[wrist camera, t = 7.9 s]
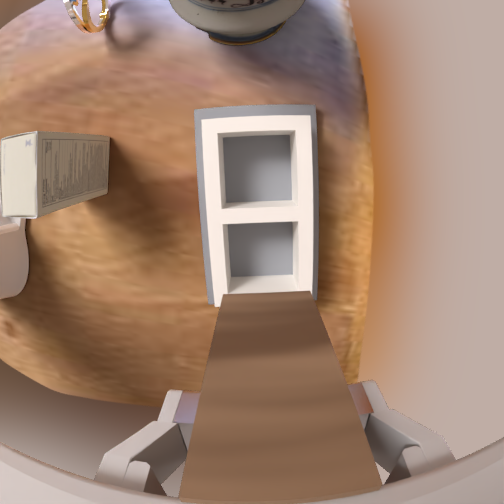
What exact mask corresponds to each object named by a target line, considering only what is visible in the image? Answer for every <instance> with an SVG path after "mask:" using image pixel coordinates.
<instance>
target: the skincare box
mask: <svg viewBox="0 0 504 504" xmlns="http://www.w3.org/2000/svg"><path fill="white" fill-rule="evenodd" d="M109 145H110V137H109V136H102V135H91V134H79V133H65V132H45V131H35V132H28V133H22V134H17V135H13V136H9V137H5V138H2V139H1V146H0V196H1V210H2V216H3V217H13V218H30V219H36V218H39V217H41V216H44V215H46V214H49V213H52V212H54V211H57V210H60V209H63V208H66V207H69V206H71V205H74V204H77V203H80V202H83V201H86V200H89V199H93V198H96V197H99V196H102V195H105V194H107V193H108V168H109Z"/></svg>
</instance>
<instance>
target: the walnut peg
mask: <svg viewBox="0 0 504 504" xmlns="http://www.w3.org/2000/svg"><path fill="white" fill-rule="evenodd" d="M381 486H382V482H381V479H380V475H379V473H378V470H377V466H376V464H375V461H374V458H373V455H372V452H371V449H370V446H369V443H368V440H367V437H366V434H365V432H364V429H363V426H362V423H361V420H360V418H359V415H358V412H357V409H356V407H355V404H354V401H353V398H352V396H351V393H350V390H349V388H348V385H347V382H346V380H345V377H344V374H343V372H342V369H341V367H340V364H339V361H338V359H337V356H336V354H335V351H334V348H333V346H332V343H331V341H330V338H329V336H328V333H327V331H326V328H325V326H324V323H323V321H322V318H321V316H320V313H319V311H318V308H317V306H316V304H315V301H314V299H313V296H312V294H311V291H292V292H270V293H243V294H223V296H222V301H221V305H220V309H219V313H218V318H217V322H216V326H215V330H214V335H213V339H212V343H211V348H210V352H209V357H208V361H207V365H206V370H205V374H204V379H203V383H202V388H201V392H200V397H199V401H198V406H197V410H196V415H195V420H194V424H193V429H192V434H191V438H190V443H189V448H188V453H187V457H186V463H185V467H184V472H183V477H182V482H181V487H180V492H179V499H180V501H181V502H186V503H196V504H300V503H309V502H318V501H325V500H332V499H338V498H344V497H349V496H354V495H359V494H364V493H368V492H373V491H377V490H380V488H381Z"/></svg>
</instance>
